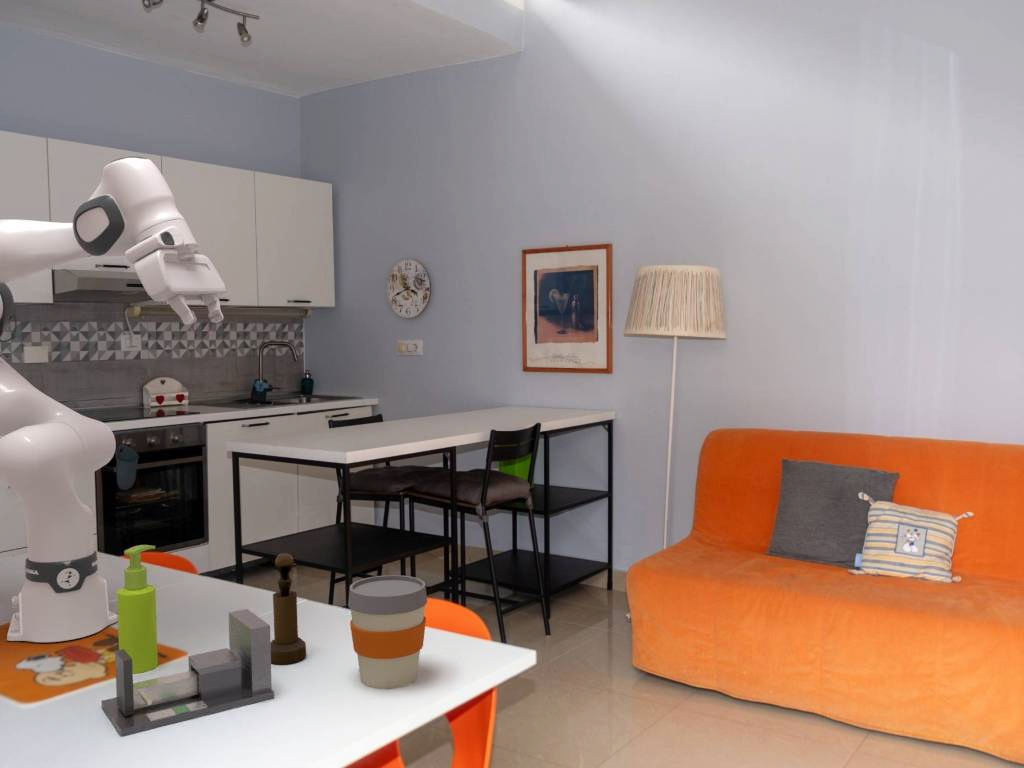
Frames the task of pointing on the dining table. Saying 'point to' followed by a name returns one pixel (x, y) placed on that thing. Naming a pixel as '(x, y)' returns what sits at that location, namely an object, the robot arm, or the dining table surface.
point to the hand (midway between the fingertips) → (205, 322)
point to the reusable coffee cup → (388, 628)
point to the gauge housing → (213, 680)
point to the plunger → (150, 686)
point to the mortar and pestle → (286, 618)
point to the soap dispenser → (137, 614)
